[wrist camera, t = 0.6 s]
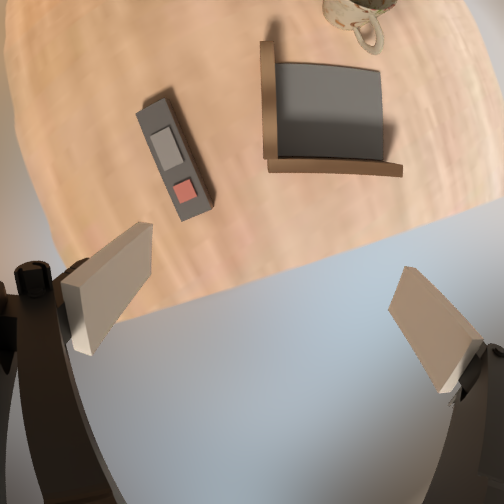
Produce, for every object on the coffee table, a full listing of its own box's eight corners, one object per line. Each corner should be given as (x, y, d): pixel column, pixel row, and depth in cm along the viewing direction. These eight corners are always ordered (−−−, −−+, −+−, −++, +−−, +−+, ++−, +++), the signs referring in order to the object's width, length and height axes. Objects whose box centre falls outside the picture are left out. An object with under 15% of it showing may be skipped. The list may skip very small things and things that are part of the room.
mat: (274, 64, 31) (274, 63, 31) (379, 73, 31) (380, 72, 30) (277, 155, 36) (277, 155, 35) (381, 159, 35) (382, 160, 35)
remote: (141, 114, 34) (134, 113, 32) (169, 99, 33) (163, 97, 31) (185, 218, 39) (180, 222, 37) (214, 206, 38) (211, 210, 36)
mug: (355, -10, 26) (377, -42, 16) (391, 59, 30) (426, 40, 20) (304, -4, 27) (315, -40, 18) (341, 68, 31) (365, 46, 22)
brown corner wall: (260, 56, 31) (259, 41, 25) (380, 65, 30) (398, 55, 25) (263, 169, 36) (264, 172, 31) (383, 172, 36) (402, 177, 30)
